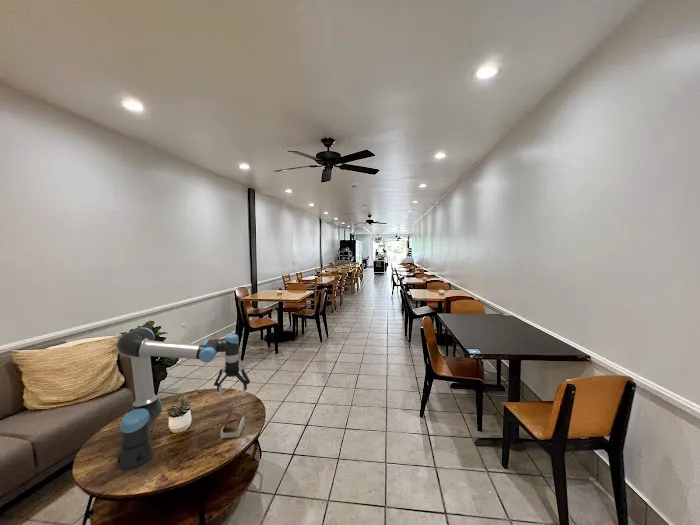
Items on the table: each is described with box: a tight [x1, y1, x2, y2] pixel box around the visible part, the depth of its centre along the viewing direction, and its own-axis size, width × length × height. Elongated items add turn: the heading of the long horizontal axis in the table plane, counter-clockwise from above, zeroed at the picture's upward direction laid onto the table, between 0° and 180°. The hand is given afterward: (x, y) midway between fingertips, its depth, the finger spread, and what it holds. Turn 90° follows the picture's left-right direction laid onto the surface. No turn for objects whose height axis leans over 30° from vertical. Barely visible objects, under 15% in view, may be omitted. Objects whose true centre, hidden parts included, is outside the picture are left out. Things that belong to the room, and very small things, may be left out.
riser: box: [220, 416, 246, 439], centre depth 171 cm, size 14×10×4 cm
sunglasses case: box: [222, 410, 244, 433], centre depth 171 cm, size 18×7×7 cm
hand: (232, 396), depth 171 cm, fingers open, 13 cm apart
